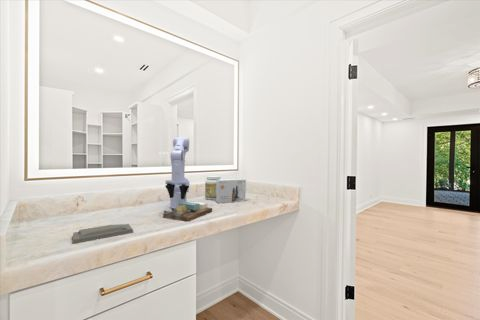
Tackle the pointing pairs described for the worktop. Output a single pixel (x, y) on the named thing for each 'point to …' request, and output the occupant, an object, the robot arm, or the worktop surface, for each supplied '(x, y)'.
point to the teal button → (190, 205)
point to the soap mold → (101, 232)
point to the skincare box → (230, 190)
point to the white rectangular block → (201, 205)
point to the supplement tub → (211, 187)
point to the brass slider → (182, 209)
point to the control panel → (186, 214)
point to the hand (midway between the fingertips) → (177, 198)
